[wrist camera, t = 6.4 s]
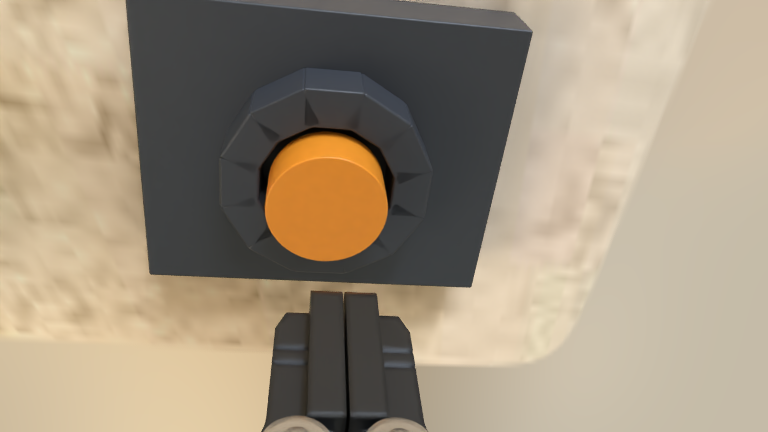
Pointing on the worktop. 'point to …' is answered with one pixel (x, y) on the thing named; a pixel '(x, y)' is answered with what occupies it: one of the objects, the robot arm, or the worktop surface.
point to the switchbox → (320, 127)
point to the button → (326, 197)
